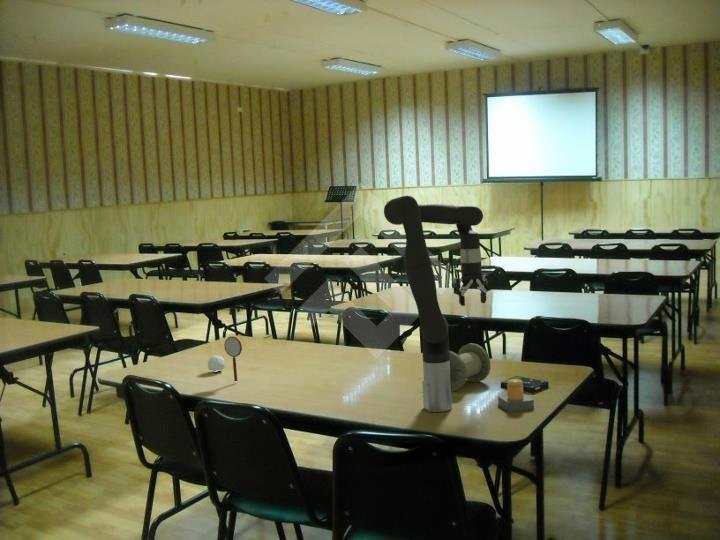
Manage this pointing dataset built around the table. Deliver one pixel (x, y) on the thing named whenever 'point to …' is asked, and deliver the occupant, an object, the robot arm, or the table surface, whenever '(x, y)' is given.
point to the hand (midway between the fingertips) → (473, 304)
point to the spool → (468, 365)
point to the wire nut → (515, 389)
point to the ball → (216, 363)
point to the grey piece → (516, 403)
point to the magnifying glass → (233, 351)
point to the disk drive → (528, 384)
